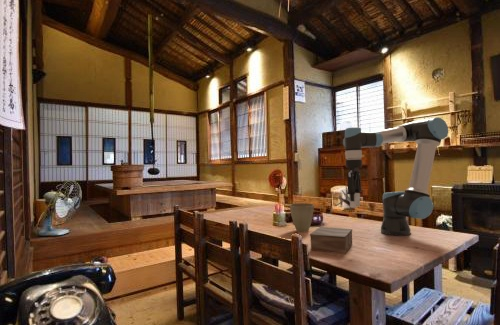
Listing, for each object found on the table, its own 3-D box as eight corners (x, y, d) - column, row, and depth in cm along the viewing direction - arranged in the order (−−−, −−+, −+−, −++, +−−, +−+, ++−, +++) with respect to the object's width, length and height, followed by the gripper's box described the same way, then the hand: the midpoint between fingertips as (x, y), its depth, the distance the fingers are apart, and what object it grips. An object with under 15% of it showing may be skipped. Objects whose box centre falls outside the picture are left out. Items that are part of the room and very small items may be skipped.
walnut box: (320, 242, 155) (320, 226, 155) (352, 245, 147) (352, 229, 147) (310, 250, 141) (309, 234, 141) (345, 254, 132) (344, 237, 132)
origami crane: (364, 195, 143) (348, 181, 147) (352, 205, 137) (335, 190, 141) (353, 207, 151) (339, 193, 155) (342, 217, 145) (327, 202, 149)
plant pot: (294, 234, 172) (293, 207, 172) (287, 229, 187) (286, 204, 187) (319, 232, 174) (317, 205, 174) (310, 227, 189) (309, 202, 189)
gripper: (352, 159, 153) (353, 204, 152) (339, 159, 138) (340, 209, 138) (367, 159, 148) (368, 205, 148) (355, 159, 133) (356, 210, 133)
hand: (355, 206), depth 143 cm, fingers closed on origami crane, 5 cm apart
